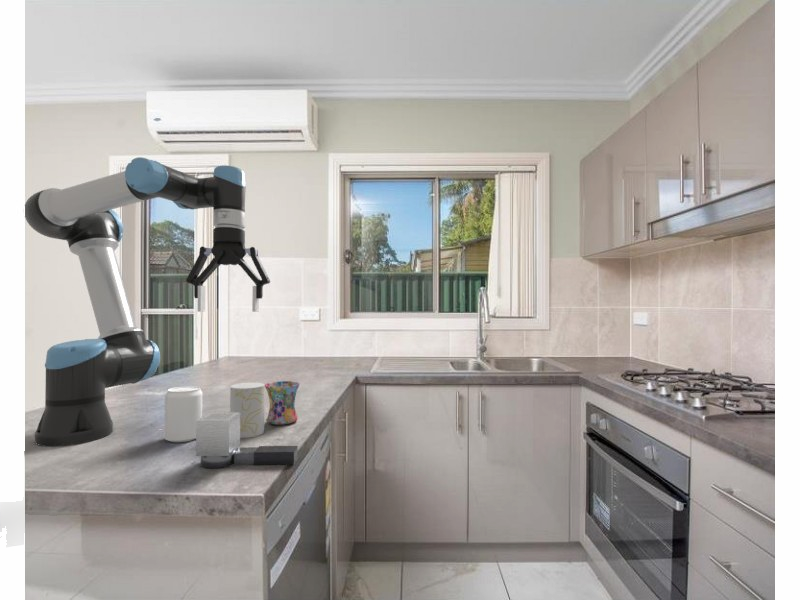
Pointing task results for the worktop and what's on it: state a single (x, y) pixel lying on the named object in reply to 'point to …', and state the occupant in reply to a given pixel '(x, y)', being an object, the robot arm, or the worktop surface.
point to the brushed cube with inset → (218, 434)
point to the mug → (282, 402)
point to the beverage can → (182, 413)
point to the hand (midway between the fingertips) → (228, 311)
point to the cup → (248, 407)
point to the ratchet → (253, 457)
